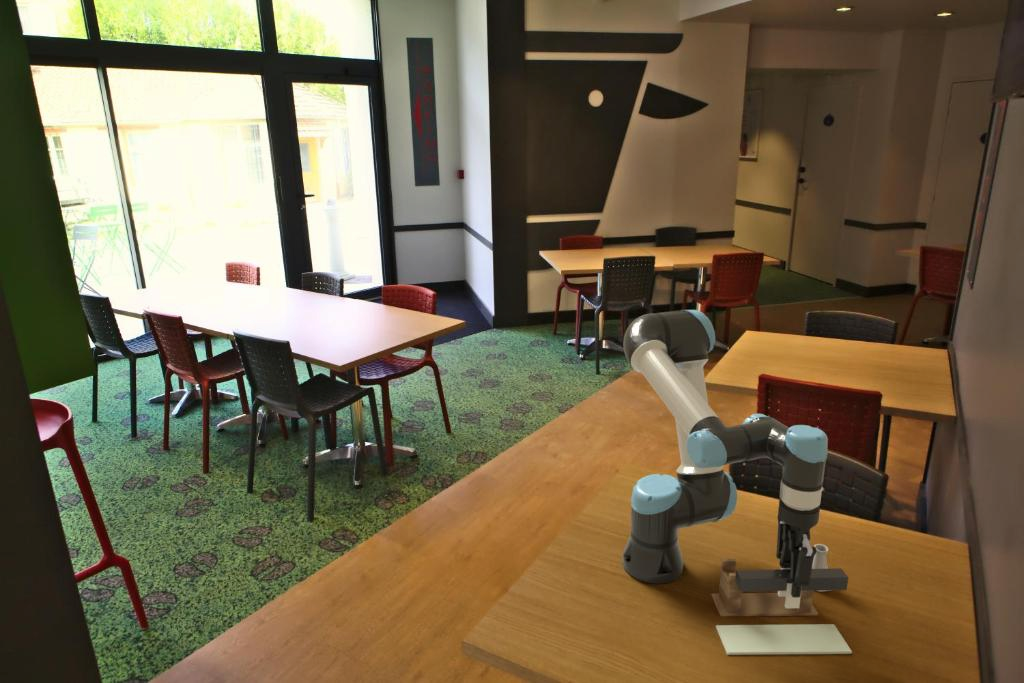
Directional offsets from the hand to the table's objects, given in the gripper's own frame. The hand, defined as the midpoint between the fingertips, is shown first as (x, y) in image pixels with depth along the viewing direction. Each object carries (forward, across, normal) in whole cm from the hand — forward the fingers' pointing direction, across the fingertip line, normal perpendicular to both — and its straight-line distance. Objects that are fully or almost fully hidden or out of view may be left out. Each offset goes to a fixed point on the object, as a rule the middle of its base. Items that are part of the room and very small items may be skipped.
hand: (788, 600), depth 136 cm
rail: (-4, 0, 0) cm, 4 cm away
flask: (+10, +19, -16) cm, 27 cm away
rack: (+10, +12, 0) cm, 15 cm away
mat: (+10, 0, 0) cm, 10 cm away
